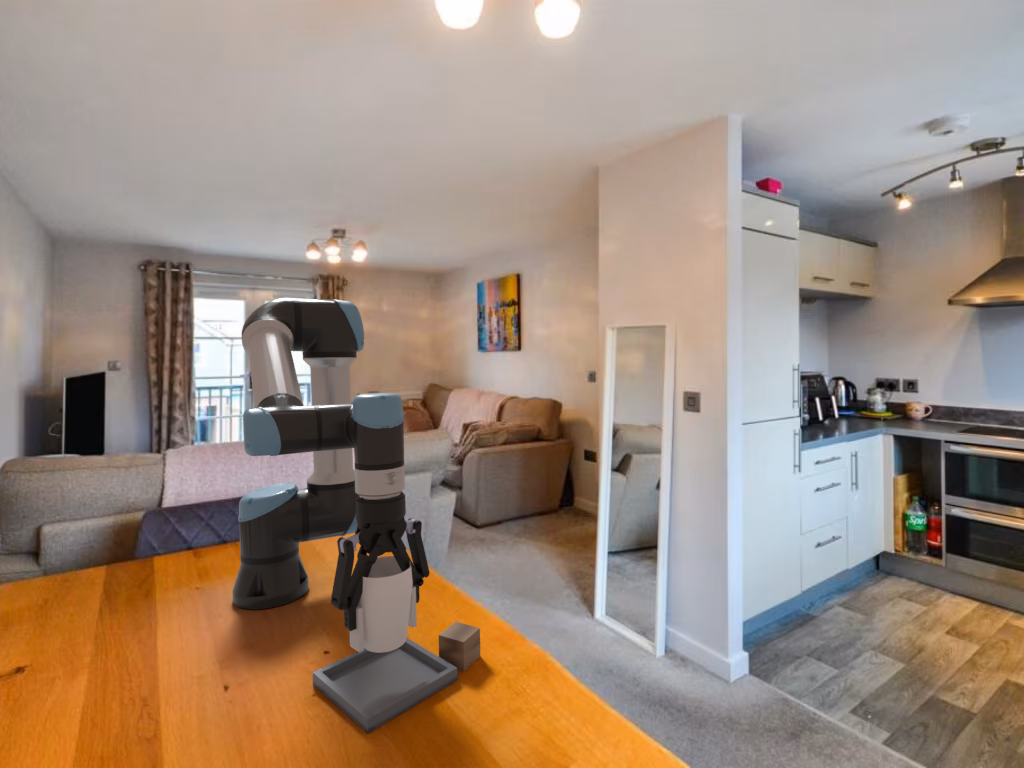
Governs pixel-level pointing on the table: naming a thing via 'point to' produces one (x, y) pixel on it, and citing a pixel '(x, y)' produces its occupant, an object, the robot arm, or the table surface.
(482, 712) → the table surface
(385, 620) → the cup
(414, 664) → the tray
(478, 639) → the walnut cube
